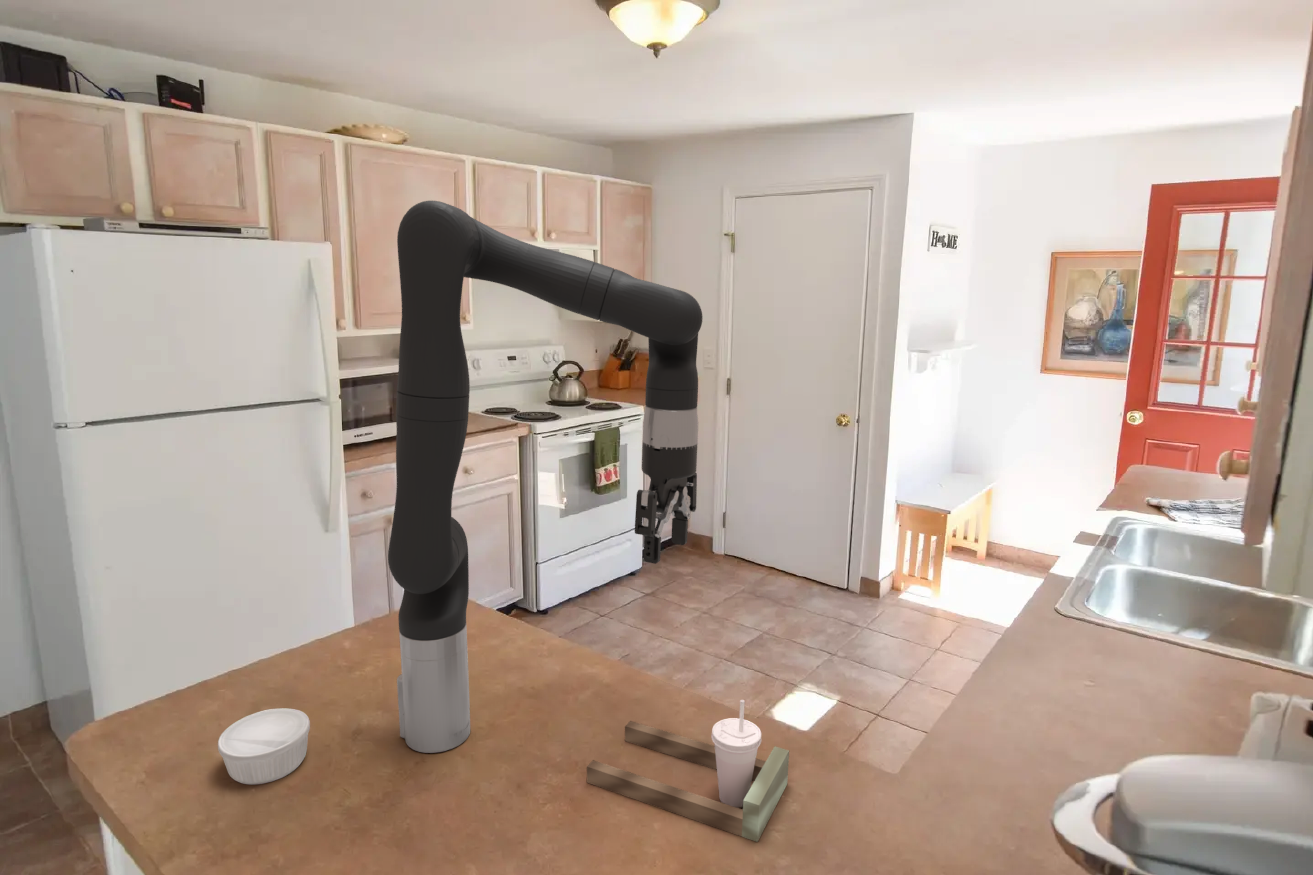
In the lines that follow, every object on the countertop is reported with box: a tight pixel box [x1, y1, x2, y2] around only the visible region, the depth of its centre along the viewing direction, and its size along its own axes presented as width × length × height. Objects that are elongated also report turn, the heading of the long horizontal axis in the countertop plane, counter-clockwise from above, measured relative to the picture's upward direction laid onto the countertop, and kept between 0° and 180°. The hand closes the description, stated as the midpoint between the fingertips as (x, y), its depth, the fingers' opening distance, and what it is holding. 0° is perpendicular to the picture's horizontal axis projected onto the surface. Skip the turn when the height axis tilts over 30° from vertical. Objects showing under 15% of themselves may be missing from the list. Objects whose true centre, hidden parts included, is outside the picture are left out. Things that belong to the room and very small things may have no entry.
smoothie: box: [711, 699, 762, 809], centre depth 98 cm, size 6×6×14 cm
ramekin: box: [217, 707, 311, 786], centre depth 104 cm, size 11×11×5 cm
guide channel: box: [586, 720, 790, 843], centre depth 101 cm, size 24×12×5 cm, turn 64°
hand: (665, 552), depth 106 cm, fingers open, 8 cm apart
